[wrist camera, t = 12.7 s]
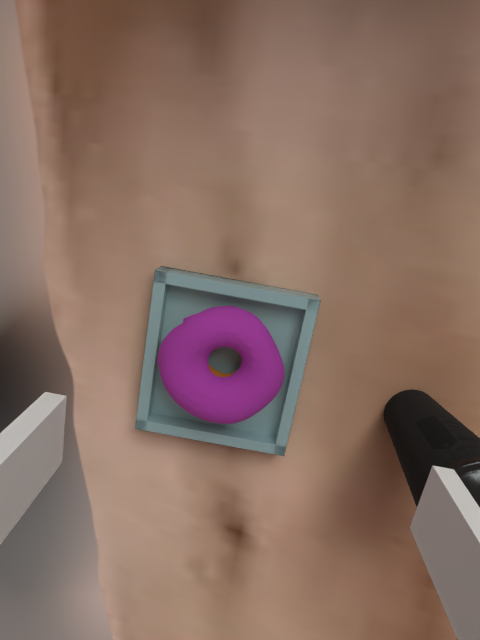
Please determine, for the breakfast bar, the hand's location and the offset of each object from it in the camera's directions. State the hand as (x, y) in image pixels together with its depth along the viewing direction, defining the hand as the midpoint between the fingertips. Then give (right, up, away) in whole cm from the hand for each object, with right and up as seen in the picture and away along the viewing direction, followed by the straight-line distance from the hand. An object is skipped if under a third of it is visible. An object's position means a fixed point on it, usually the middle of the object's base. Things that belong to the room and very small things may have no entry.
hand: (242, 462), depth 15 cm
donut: (-2, +2, +24) cm, 24 cm away
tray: (-1, +1, +25) cm, 25 cm away
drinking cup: (+16, -4, +26) cm, 30 cm away
